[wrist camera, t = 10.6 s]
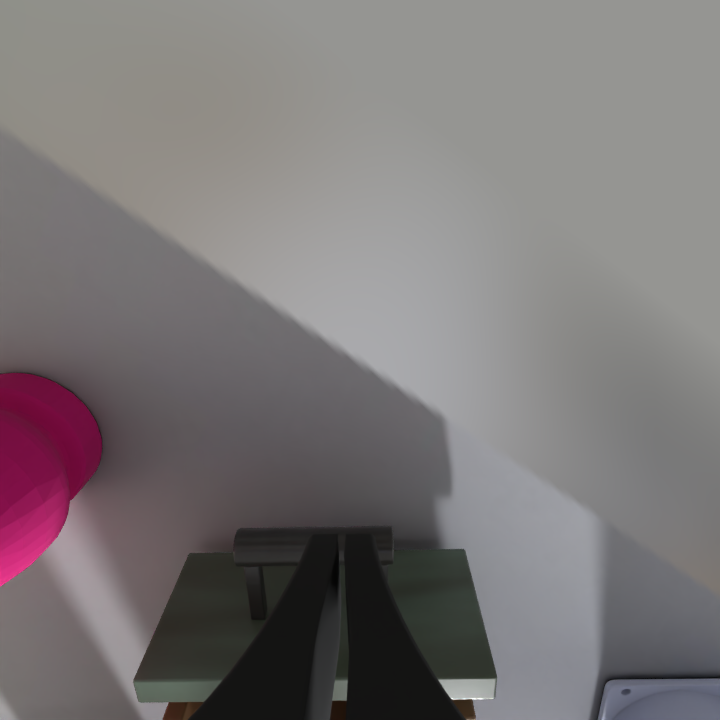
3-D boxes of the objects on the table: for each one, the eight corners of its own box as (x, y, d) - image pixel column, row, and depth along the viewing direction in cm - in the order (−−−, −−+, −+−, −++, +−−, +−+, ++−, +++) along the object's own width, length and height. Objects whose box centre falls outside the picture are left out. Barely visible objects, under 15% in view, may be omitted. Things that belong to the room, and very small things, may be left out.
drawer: (174, 478, 23) (107, 592, 17) (469, 473, 23) (507, 587, 17) (221, 724, 29) (184, 872, 23) (454, 722, 29) (477, 871, 23)
